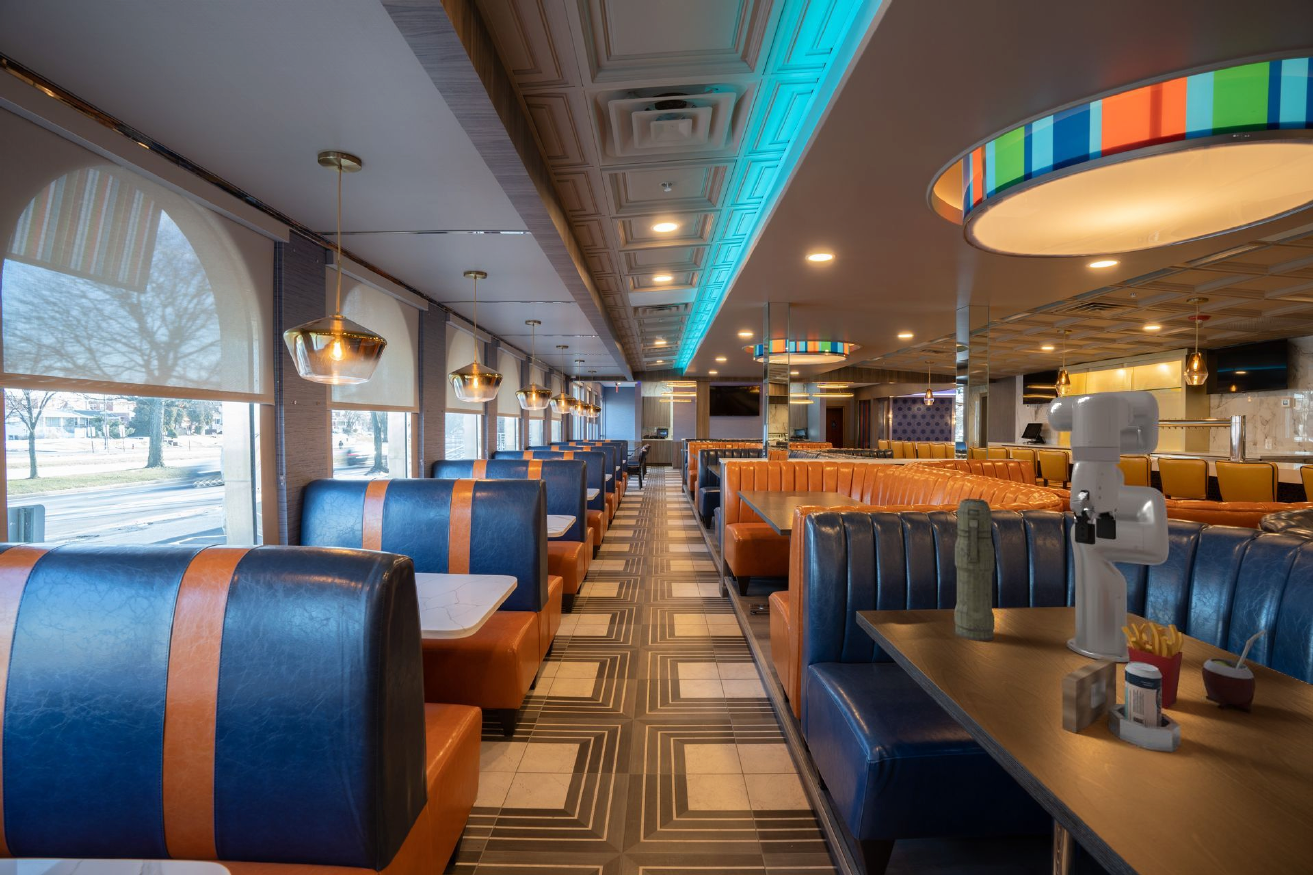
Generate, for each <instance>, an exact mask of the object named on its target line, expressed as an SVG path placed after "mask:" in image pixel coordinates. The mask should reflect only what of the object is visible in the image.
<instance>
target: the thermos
mask: <svg viewBox="0 0 1313 875" xmlns="http://www.w3.org/2000/svg"><path fill="white" fill-rule="evenodd" d="M956 514H957V519H956V520H957V522H956V523H957V524H956V525H957V530H958V532H957V536H956V541H955V543H954V565H955V568H956V605H955V608H954V612H953V614H954V615H953V616H954V617H953V618H954V624H955V629H954V633H955V634H956V635H957V636H958V637H961V638H964V639H967V640H971V641H976V642H977V641H979V642H990V641H993V640H994V637H995V635H994V630H995V615H994V612H993V590H992V589H993V572H994V570H995V548H994V545H993V542H992V536H991V532H992V510H991V508H990V505H989V502H988V501H986V500H984V499H977V498H964V499H963V500H960V502H959V505H958V508H957V513H956Z"/></svg>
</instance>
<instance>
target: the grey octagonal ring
mask: <svg viewBox="0 0 1313 875" xmlns="http://www.w3.org/2000/svg"><path fill="white" fill-rule="evenodd" d="M1107 723H1108V724H1107V725H1108V726H1107V729H1108V730H1109V729H1110V730H1111V731H1110V730H1109V731H1110V732H1111V733H1112V732H1113V735H1115V736H1116V737H1117V738H1118V739H1119V738H1120V739H1121V741H1123V740H1125V741H1124V742H1126V743H1128V742H1130V743H1129V744H1131V743H1132V745H1134V746H1136V745H1137V746H1136V747H1139V748H1141V749H1145V750H1147V749H1148V750H1147V751H1158V752H1165V753H1166V752H1167V753H1174V752H1175V750H1177V749H1178V748H1179V747H1181V746H1180V745H1181V724H1179V723H1178V722H1177V721H1176V720H1174V719H1173V718H1171V717H1170V716H1168V715H1167V714H1165V713H1163V712H1162V727H1158V726H1148V725H1144V724H1141V723H1138V722H1135V721H1132V720H1129V719H1126V718H1125V703H1116V704H1115V705H1113V706H1112V707H1110V708H1108V714H1107ZM1120 739H1119V740H1120Z"/></svg>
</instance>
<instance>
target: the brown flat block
mask: <svg viewBox="0 0 1313 875" xmlns="http://www.w3.org/2000/svg"><path fill="white" fill-rule="evenodd" d="M1061 680H1062V685H1061V686H1062V692H1061V694H1062V698H1061V699H1062V702H1061V704H1062V708H1061V709H1062V710H1061V711H1062V713H1061V714H1062V718H1061V719H1062V726H1061V727H1062V728H1061V729H1063V728H1064V729H1063V730H1065V729H1067V730H1066V731H1068V730H1069V731H1068V732H1071V733H1073V732H1074V734H1077V733H1079V732H1081V731H1082V730H1084V729H1085V728H1087V727H1089V726H1090V725H1093V723H1096V721H1098V720H1099V719H1101V718H1103V717H1105V716H1106V715H1108V708H1110V707H1112V706H1113V705H1115V704H1117V662H1116V660H1113V659H1109V658H1106V657H1102V658H1100V659H1096V660H1094V661H1092V662H1090V663H1088V664H1087V665H1084V666H1081V667H1080V668H1078V669H1076V670H1074V671H1072V672H1070V673H1068V674H1066V675H1064V676H1062V678H1061ZM1088 725H1089V726H1088ZM1081 729H1082V730H1081ZM1080 730H1081V731H1080Z"/></svg>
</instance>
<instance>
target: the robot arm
mask: <svg viewBox="0 0 1313 875" xmlns="http://www.w3.org/2000/svg"><path fill="white" fill-rule="evenodd" d="M1047 420H1048V424H1049V426H1050V428H1051V429H1052V430H1054V431H1055V432H1065V433H1067V432H1069V433H1070V434H1069V444H1070V452H1071V454H1072V455H1071V457H1072V459H1071V460H1072V463H1073V467H1072V473H1071V481H1070V497H1069V498H1070V499H1069V508H1070V510H1071V512H1073V515H1074V518H1073V521H1074V523H1073V524H1072V526H1071V529H1070V541H1071V546H1072V551H1073V558H1074V559H1073V560H1074V575H1075V576H1074V578H1075V579H1074V580H1075V582H1074V583H1075V585H1074V586H1075V588H1074V592H1075V594H1074V595H1075V596H1074V597H1075V601H1074V602H1075V606H1074V607H1075V608H1074V609H1075V610H1074V611H1075V617H1074V619H1075V623H1074V624H1075V626H1074V627H1075V630H1074V631H1075V632H1074V633H1075V637H1072V638H1069V639H1068V640H1067V647H1068V648H1069V650H1071V651H1073V652H1075V653H1077V654H1079V655H1081V656H1085V657H1088V658H1092V659H1094V660H1095V659H1096V660H1098V659H1100V658H1102V657H1106V658H1109V659H1113V660H1116V663H1129V662H1130V660H1129V652H1128V648H1129V647H1128V642H1127V641H1128V637H1127V636H1126V634H1125V633H1124V631H1123V630H1122V629H1121V628H1122V627H1125V626H1127V627H1128V625H1127V623H1128V619H1127V618H1128V617H1127V616H1128V612H1127V611H1128V608H1127V606H1128V604H1127V601H1128V600H1127V599H1128V596H1127V594H1128V593H1127V592H1128V588H1127V587H1128V584H1127V581H1126V577H1125V576H1124V574H1122V572H1121V571H1120V570H1119V569H1118V568H1117V567H1116V566H1115V564H1113V562H1114V563H1115V562H1116V563H1119V562H1121V563H1128V564H1129V563H1130V564H1138V565H1147V566H1148V565H1149V566H1158V565H1163V564H1164V563H1165V562H1166V561H1167V560H1168V556H1169V553H1170V544H1169V543H1170V542H1169V541H1170V540H1169V539H1170V538H1169V527H1168V513H1167V511H1168V509H1167V503H1166V499H1165V497H1164V495H1163V493H1162V492H1161V491H1160V490H1158V489H1157V488H1155V487H1150V486H1141V485H1126V484H1125V475H1124V473H1123V470H1121V469H1120V467H1118V465H1120V464H1121V455H1127V456H1129V455H1131V456H1132V455H1133V456H1143V455H1150V454H1151V453H1154V452H1155V451H1156V449H1157V447H1158V443H1159V429H1160V427H1159V425H1160V423H1159V422H1160V407H1159V403H1158V400H1157V398H1156V397H1155V396H1154V394H1152V392H1149V391H1146V390H1130V391H1129V390H1128V391H1127V390H1126V391H1103V392H1102V391H1101V392H1095V393H1094V392H1093V393H1085V394H1078V395H1070V396H1059V397H1058V396H1057V397H1054V398H1053V399H1052V400H1051V401H1050V403H1049V406H1048V409H1047Z"/></svg>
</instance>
